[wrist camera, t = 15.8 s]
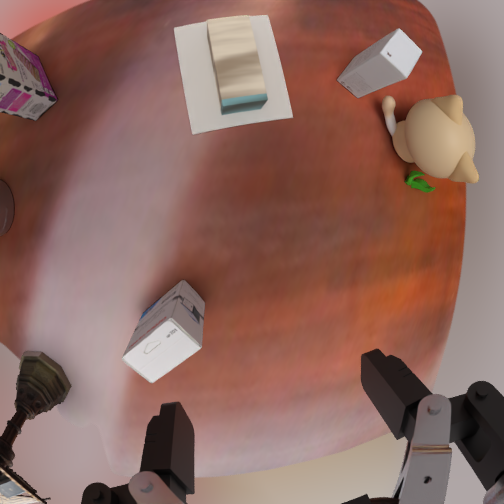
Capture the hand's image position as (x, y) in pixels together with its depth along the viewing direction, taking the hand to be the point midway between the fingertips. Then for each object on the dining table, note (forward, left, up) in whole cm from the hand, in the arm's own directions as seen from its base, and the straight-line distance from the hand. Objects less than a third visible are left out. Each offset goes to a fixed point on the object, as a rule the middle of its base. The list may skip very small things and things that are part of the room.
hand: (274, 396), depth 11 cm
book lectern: (-19, -37, -28) cm, 50 cm away
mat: (-11, +20, -28) cm, 36 cm away
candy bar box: (-38, +8, -28) cm, 48 cm away
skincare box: (+4, +30, -28) cm, 41 cm away
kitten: (+16, +26, -28) cm, 41 cm away
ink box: (-3, -12, -28) cm, 31 cm away
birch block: (-7, +15, -25) cm, 30 cm away
